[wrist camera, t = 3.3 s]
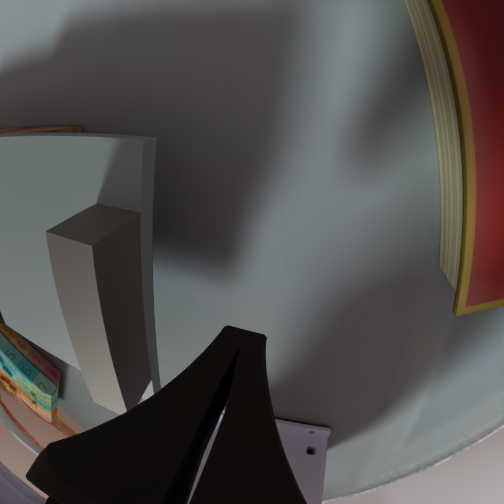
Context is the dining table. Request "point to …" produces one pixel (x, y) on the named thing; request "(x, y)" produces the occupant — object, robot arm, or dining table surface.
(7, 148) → the lid
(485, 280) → the hardcover book
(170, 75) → the dining table surface
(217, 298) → the dining table surface
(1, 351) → the puzzle game
